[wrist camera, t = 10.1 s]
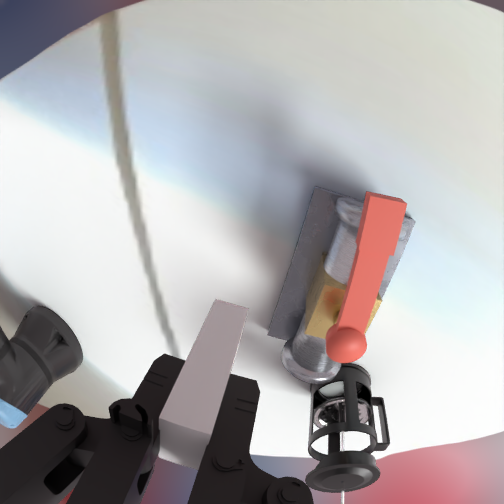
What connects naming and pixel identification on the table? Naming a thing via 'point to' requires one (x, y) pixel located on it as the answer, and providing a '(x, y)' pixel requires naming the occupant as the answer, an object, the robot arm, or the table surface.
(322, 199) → the valve body
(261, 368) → the table surface
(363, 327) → the lever
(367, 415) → the french press
